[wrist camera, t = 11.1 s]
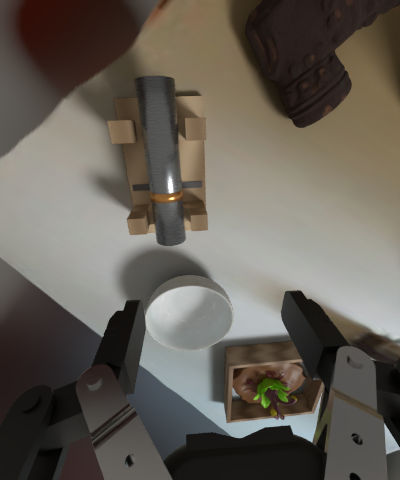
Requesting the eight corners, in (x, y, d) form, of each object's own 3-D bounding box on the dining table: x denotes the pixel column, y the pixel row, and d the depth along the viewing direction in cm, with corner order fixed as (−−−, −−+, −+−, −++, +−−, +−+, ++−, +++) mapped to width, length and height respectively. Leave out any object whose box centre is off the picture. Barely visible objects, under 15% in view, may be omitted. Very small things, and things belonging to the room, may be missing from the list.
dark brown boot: (309, 135, 28) (453, 21, 22) (233, 17, 23) (392, -175, 17) (289, 128, 36) (390, 44, 30) (231, 40, 31) (336, -82, 25)
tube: (140, 84, 27) (128, 77, 23) (177, 82, 27) (171, 74, 23) (159, 232, 36) (153, 246, 32) (187, 232, 36) (184, 245, 32)
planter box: (323, 338, 57) (335, 355, 53) (305, 394, 69) (314, 413, 64) (225, 347, 56) (229, 366, 51) (223, 403, 67) (226, 422, 63)
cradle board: (202, 96, 31) (208, 88, 25) (205, 226, 40) (210, 246, 34) (115, 99, 31) (97, 91, 24) (138, 231, 40) (130, 252, 33)
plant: (278, 340, 57) (299, 385, 47) (311, 373, 65) (334, 418, 55) (216, 375, 61) (223, 423, 52) (253, 402, 69) (266, 448, 59)
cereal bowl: (137, 273, 44) (130, 297, 38) (220, 254, 43) (226, 276, 37) (162, 331, 52) (159, 359, 45) (232, 316, 51) (239, 342, 45)
